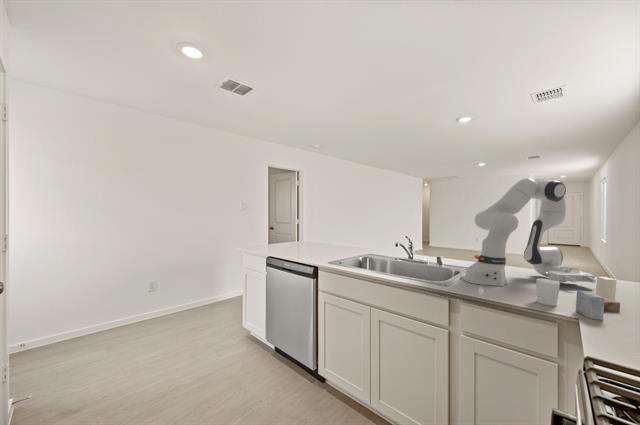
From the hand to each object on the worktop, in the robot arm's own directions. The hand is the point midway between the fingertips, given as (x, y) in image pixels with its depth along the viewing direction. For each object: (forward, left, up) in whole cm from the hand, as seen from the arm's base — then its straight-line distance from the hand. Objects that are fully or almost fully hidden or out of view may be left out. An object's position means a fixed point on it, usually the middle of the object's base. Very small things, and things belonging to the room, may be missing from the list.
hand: (584, 280), depth 137 cm
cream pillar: (0, -10, -6) cm, 12 cm away
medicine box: (-26, -30, -6) cm, 40 cm away
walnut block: (-13, -20, -6) cm, 25 cm away
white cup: (-33, -18, -6) cm, 38 cm away
